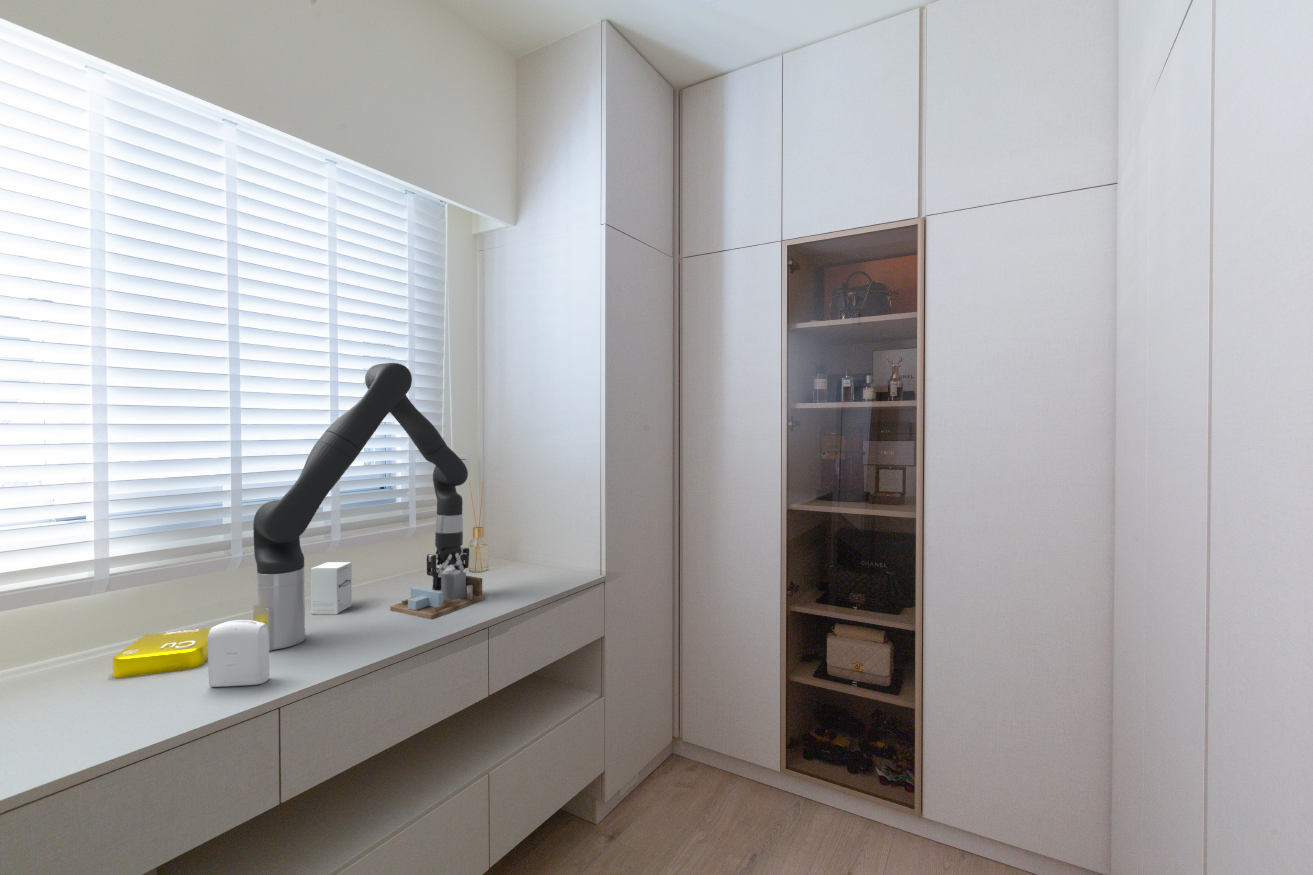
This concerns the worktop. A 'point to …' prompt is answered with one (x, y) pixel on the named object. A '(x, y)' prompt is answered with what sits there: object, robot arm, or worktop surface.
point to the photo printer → (238, 653)
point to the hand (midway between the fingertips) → (448, 586)
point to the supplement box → (331, 588)
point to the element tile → (163, 653)
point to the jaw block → (453, 584)
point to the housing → (446, 601)
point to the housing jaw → (424, 598)
